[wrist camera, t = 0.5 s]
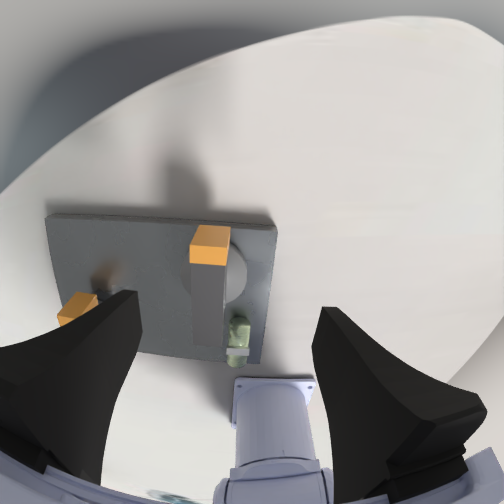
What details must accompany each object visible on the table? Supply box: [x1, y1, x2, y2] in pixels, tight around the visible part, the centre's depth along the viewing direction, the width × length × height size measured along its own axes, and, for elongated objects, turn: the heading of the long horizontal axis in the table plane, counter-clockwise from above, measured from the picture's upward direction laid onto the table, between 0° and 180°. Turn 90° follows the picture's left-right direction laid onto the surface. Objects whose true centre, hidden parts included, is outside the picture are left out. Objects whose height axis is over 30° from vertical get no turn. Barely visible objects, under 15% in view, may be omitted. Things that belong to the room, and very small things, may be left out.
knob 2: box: [180, 225, 247, 347], centre depth 18 cm, size 7×4×4 cm, turn 175°
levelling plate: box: [45, 214, 278, 368], centre depth 21 cm, size 12×18×3 cm, turn 85°
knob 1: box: [57, 292, 102, 326], centre depth 20 cm, size 7×4×4 cm, turn 175°
